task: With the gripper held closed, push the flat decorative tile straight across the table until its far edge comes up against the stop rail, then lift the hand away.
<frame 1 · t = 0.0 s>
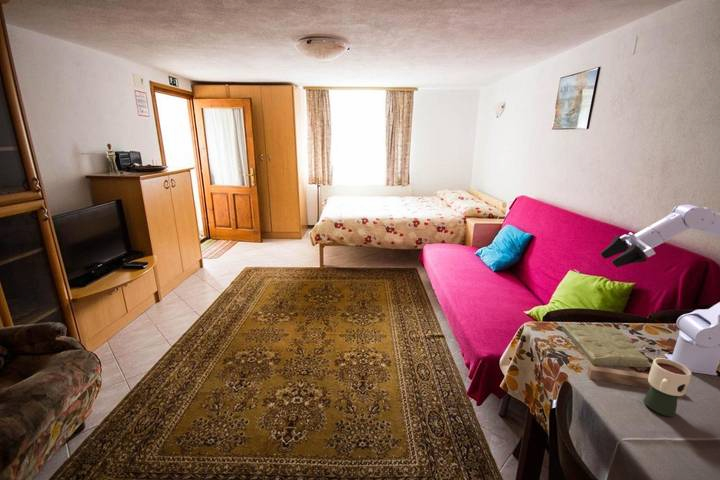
hand: (607, 260, 100), 32 cm above the table, tool tilted 50°, fingers open, 7 cm apart
stop rail: (631, 382, 95), on the table
decorative tile: (603, 349, 111), on the table
character mug: (658, 408, 86), on the table
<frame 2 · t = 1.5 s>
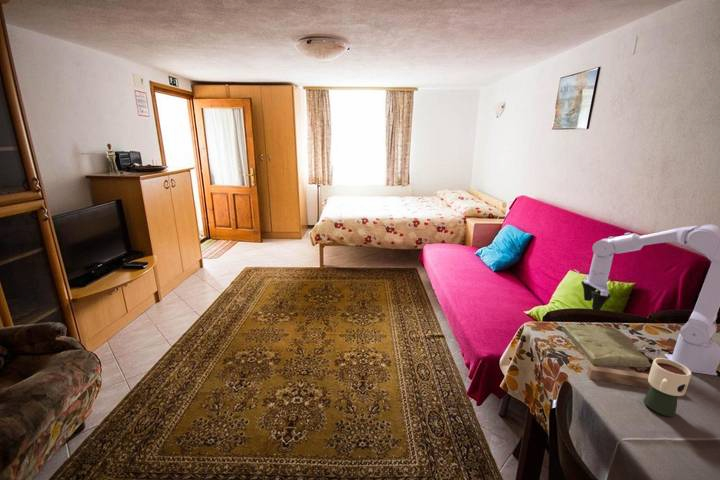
hand: (591, 305, 122), 8 cm above the table, tool pointing down, fingers open, 7 cm apart
nothing on the table moved.
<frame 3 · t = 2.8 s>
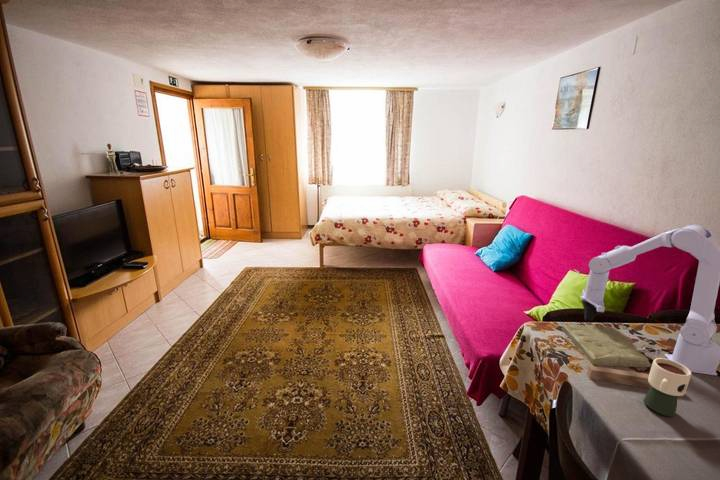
hand: (588, 319, 124), 2 cm above the table, tool pointing down, fingers closed
nothing on the table moved.
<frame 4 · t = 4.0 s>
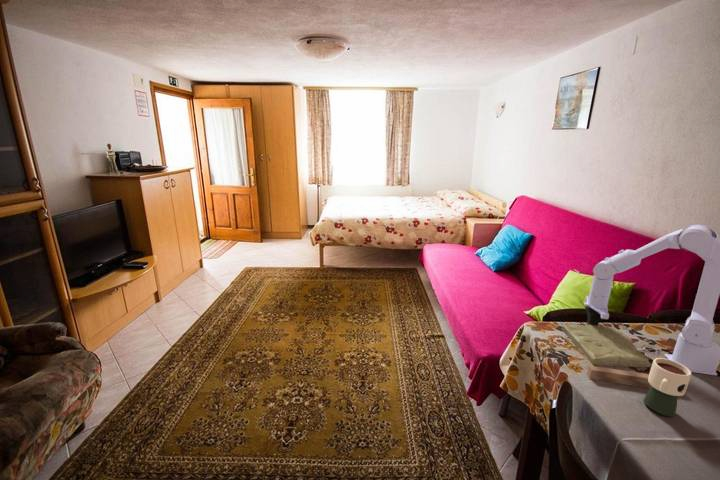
hand: (591, 326, 121), 1 cm above the table, tool pointing down, fingers closed
decorative tile: (603, 348, 111), on the table, touching gripper
everything else where it was.
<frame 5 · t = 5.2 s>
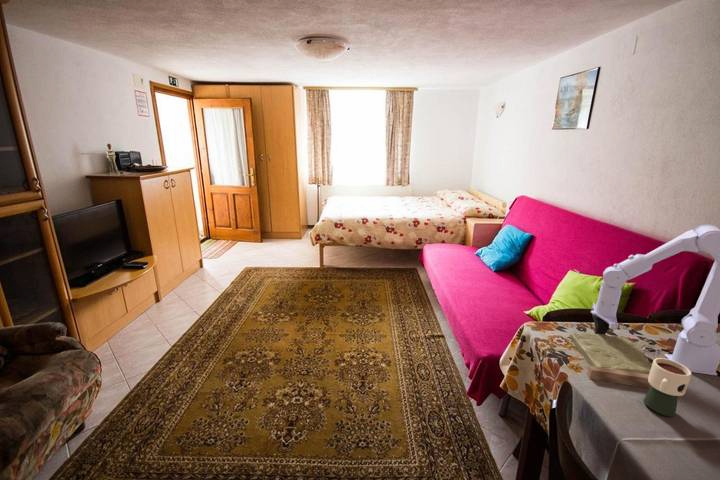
hand: (599, 336, 115), 1 cm above the table, tool pointing down, fingers closed
decorative tile: (612, 359, 106), on the table, touching gripper
everything else where it was.
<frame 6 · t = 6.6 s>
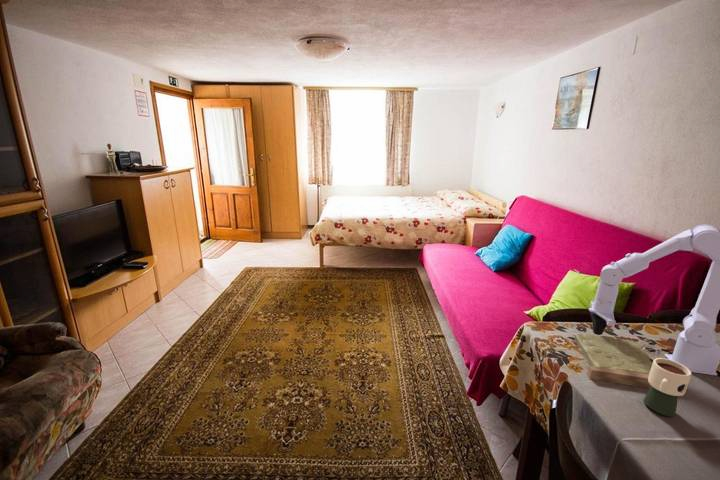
hand: (596, 333, 117), 1 cm above the table, tool pointing down, fingers closed
decorative tile: (615, 362, 105), on the table
everything else where it was.
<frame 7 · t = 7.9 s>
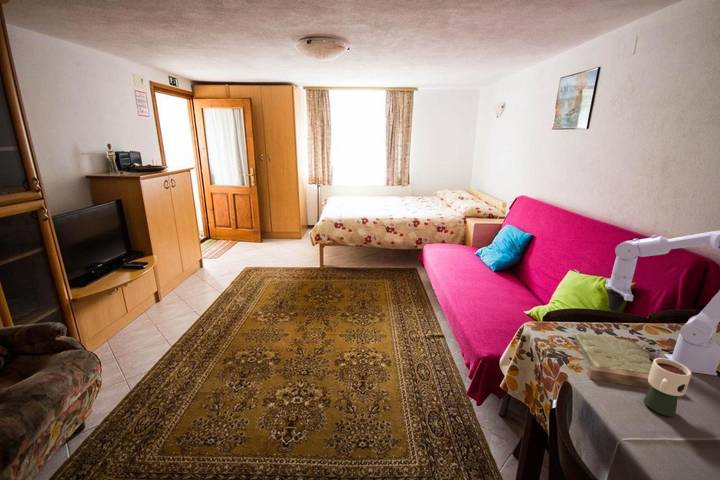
hand: (613, 310, 116), 9 cm above the table, tool pointing down, fingers closed
nothing on the table moved.
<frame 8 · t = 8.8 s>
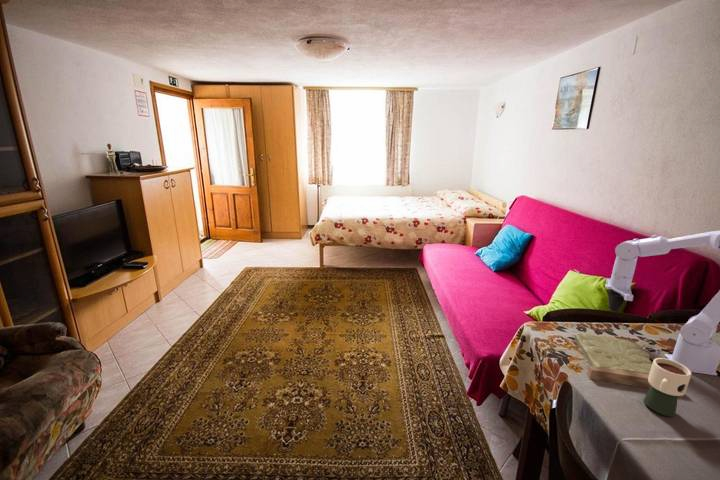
hand: (613, 310, 116), 9 cm above the table, tool pointing down, fingers closed
nothing on the table moved.
at the end: decorative tile inside the target area (0.9 cm from its centre), on the table; decorative tile moved 7.0 cm from its start; decorative tile tilted 0° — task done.
